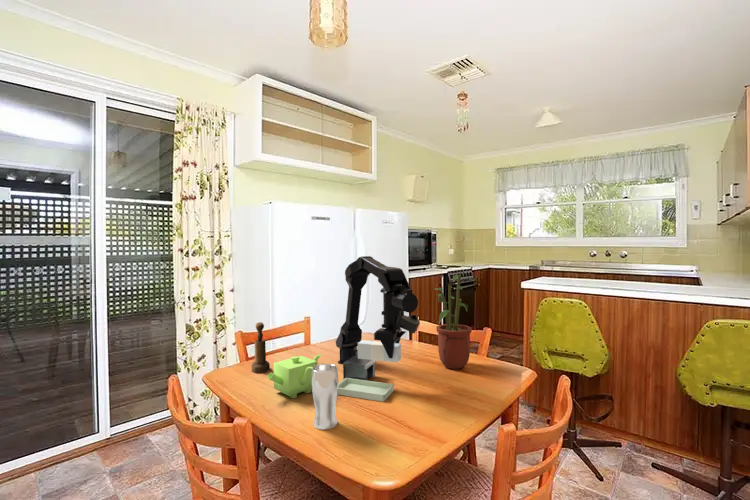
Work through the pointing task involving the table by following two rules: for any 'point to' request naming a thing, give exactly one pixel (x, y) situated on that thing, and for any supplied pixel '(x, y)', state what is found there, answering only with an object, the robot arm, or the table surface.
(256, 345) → the dark turned peg
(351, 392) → the dish
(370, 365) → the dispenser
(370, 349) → the white square column
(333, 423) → the beer glass
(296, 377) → the kettle
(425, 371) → the table surface
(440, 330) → the potted plant
